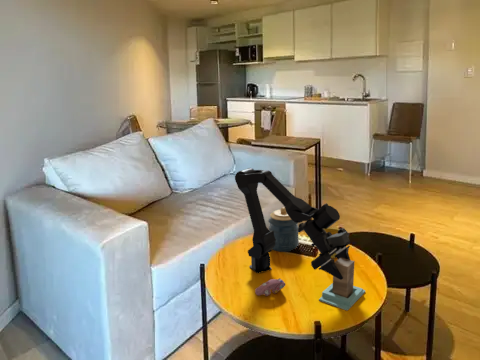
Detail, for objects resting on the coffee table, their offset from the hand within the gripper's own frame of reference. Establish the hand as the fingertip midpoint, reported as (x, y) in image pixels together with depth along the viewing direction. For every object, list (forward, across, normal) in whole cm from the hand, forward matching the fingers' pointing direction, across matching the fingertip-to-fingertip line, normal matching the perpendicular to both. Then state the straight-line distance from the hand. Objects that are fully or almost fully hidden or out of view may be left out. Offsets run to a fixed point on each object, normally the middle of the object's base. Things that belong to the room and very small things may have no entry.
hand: (347, 274), depth 137 cm
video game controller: (-9, -13, +22) cm, 27 cm away
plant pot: (-7, +26, +20) cm, 34 cm away
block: (+5, 0, +7) cm, 8 cm away
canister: (-22, +22, +34) cm, 46 cm away
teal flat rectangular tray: (+5, 0, +7) cm, 9 cm away
